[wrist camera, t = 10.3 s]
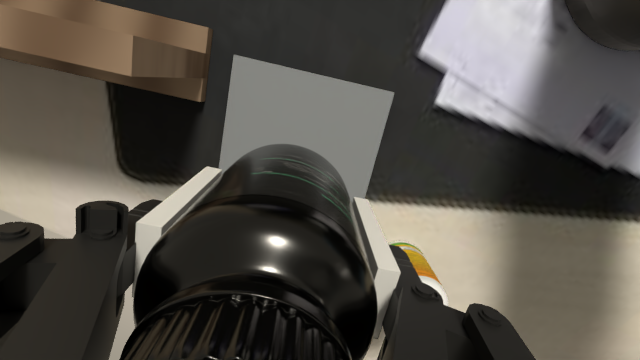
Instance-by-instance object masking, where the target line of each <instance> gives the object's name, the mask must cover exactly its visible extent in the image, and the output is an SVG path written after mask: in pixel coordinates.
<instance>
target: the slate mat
mask: <svg viewBox="0 0 640 360" xmlns="http://www.w3.org/2000/svg"><path fill="white" fill-rule="evenodd" d="M393 96H394V92H390V91H386V90H381V89H377V88H373V87H369V86H364V85H360V84H356V83H352V82H348V81H343V80H339V79H335V78H331V77H326V76H322V75H318V74H314V73H309V72H305V71H301V70H297V69H292V68H288V67H284V66H280V65H276V64H271V63H267V62H263V61H259V60H254V59H250V58H246V57H242V56H237V55H234V57H233V65H232V72H231V80H230V87H229V95H228V102H227V110H226V117H225V125H224V133H223V140H222V148H221V155H220V163H219V169H222V174H223V173H224V172H225V171H226V170H227V169H228V168H229V167H230V166H231V165H232V164H234V163H235V162H236V161H237V160H238V159H239V158H241V157H242V156H243V155H245V154H247V153H248V152H250V151H252V150H254V149H257V148H259V147H262V146H266V145H272V144H292V145H298V146H302V147H305V148H308V149H310V150H312V151H314V152H316V153H318V154H319V155H321V156H322V157H324V158H325V159H326V160H327V161H329V162H330V163H331V164H332V165H333V166H334V168H335V169H336V170H337V171H338V173H339V174H340V176H341V178H342V179H343V181H344V183H345V185H346V188H347V191H348V194H349V197H350V200H351V203H352V202H353V198H354V197H358V198H363V199H364V198H365V195H366V191H367V188H368V184H369V181H370V177H371V173H372V170H373V166H374V163H375V159H376V156H377V152H378V149H379V145H380V142H381V138H382V135H383V131H384V128H385V124H386V121H387V117H388V114H389V110H390V106H391V103H392V99H393ZM222 174H221V175H222Z"/></svg>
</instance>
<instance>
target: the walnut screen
mask: <svg viewBox="0 0 640 360" xmlns="http://www.w3.org/2000/svg"><path fill="white" fill-rule="evenodd" d="M212 34H213V30H212V29H210V28H208V27H203V26H199V25H195V24H191V23H187V22H183V21H179V20H174V19H170V18H166V17H162V16H158V15H154V14H150V13H145V12H141V11H137V10H133V9H129V8H125V7H121V6H116V5H112V4H108V3H104V2H100V1H96V0H0V58H4V59H9V60H13V61H18V62H22V63H27V64H31V65H36V66H40V67H45V68H49V69H54V70H58V71H63V72H67V73H72V74H76V75H81V76H85V77H90V78H94V79H99V80H103V81H108V82H112V83H117V84H121V85H126V86H130V87H135V88H139V89H144V90H148V91H153V92H157V93H162V94H166V95H171V96H175V97H180V98H184V99H189V100H193V101H198V102H204V101H205V97H206V88H207V79H208V70H209V61H210V52H211V43H212Z"/></svg>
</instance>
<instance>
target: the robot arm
mask: <svg viewBox="0 0 640 360" xmlns="http://www.w3.org/2000/svg"><path fill="white" fill-rule="evenodd" d="M566 4H567V7H568V9H569V12H570V14H571V16H572V18H573V19H574V21H575V22H576V24H577V25H578V26H579V28H580V29H581V30H582V31H583V32H584V33H585V34H586V35H587V36H588V37H590V38H591V39H592V40H594V41H595V42H597V43H599V44H601V45H603V46H606V47H609V48H612V49H616V50H624V51H637V50H640V0H566ZM221 174H222V169H217V168H212V167H206V168H204V169H203V170H202V171H201V172H199V173H198V174H197V175H196V176H194V177H193V178H192V179H190V180H189V181H188V182H187V183H185V184H184V185H183V186H182V187H180V188H179V189H178V190H177V191H175V192H174V193H173V194H172V195H170V196H169V197H168V198H167V199H165V200H164V201H159V200H154V199H153V200H149V201H146V202H143V203H141V204H139V205H138V206H136V207H135V208H134V209H132V210H131V211H129V212H128V207H127V206H126V205H125V204H122V203H119V202H114V201H94V202H88V203H85V204H82V205H80V206H79V207H77V208H76V234H75V236H74V238H73V239H44V228H43V227H41V226H40V225H38V224H34V223H26V222H15V223H13V222H9V223H5V224H2V225H0V360H108V359H109V356H110V352H111V349H112V345H113V342H114V338H115V334H116V331H117V327H118V324H119V320H120V316H121V312H122V309H123V306H124V295H125V294H124V293H125V291H126V290H127V289H128V287H129V286H130V285H131V284H132V283H133V288H132V297H133V298H134V291H135V286H136V281H137V277H138V274H139V272H140V269H141V266H142V264H143V262H144V260H145V258H146V256H147V255H148V253H149V251H150V250H151V248H152V247H153V246H154V244H155V243H156V242H157V241H158V240H159V238H160V237H161V236H162V235H163V233H164V232H165V231H166V230H167V229H168V228H169V227H170V226H171V225H172V224H173V223H174V222H175V221H176V220H177V219H178V218H179V217H180V216H181V215H182V214H183V213H184V212H185V211H186V210H187V209H188V208H189V207H190V206H191V205H192V204H193V203H194V202H195V201H196V200H197V199H198V198H199V197H200V196H201V195H202V194H203V193H204V192H205V191H206V190H207V189H208V188H209V187H210V186H211V185H212V184H213V183H214V182H215V181H216V180H217V179H218V178H219V177H220V176H221ZM352 207H353V210H354V213H355V217H356V220H357V223H358V227H359V230H360V233H361V237H362V240H363V243H364V247H365V250H366V253H367V257H368V260H369V264H370V267H371V270H372V274H373V278H374V283H375V287H376V293H377V302H378V313H377V322H376V327H375V332H374V335H373V338H375V339H378V337H379V334H380V332H381V329H382V326H383V328H384V332H385V335H386V336H385V339H384V341H383V344H382V347H381V350H380V353H379V356H378V358H377V360H536V359H535V358H534V356H533V355H532V353H531V352H530V351H529V349H528V348H527V346H526V345H525V343H524V342H523V340H522V339H521V338H520V336H519V335H518V333H517V332H516V330H515V329H514V327H513V326H512V324H511V323H510V322H509V321H508V320H507V319H506V317H504V316H503V315H502V314H500V313H499V312H498V311H497V310H495V309H493V308H491V307H489V306H485V305H482V304H476V303H474V304H470V305H469V307H468V309H467V311H466V313H464V312H461V311H458V310H456V309H453V308H451V307H448V306H446V305H444V304H443V299H442V296H441V295H440V294H439V293H438V291H437V290H435V289H434V288H432V287H431V286H429V285H427V284H425V283H423V282H422V281H421V279H420V277H419V276H418V274H417V272H416V270H415V268H413V264H412V263H411V262H410V259H409V257H408V255H407V253H406V252H405V251H403V250H402V249H401V248H400V247H399V246H394V245H389V244H388V243H387V241H386V238H385V236H384V234H383V232H382V230H381V227H380V225H379V223H378V221H377V218H376V216H375V214H374V212H373V210H372V207H371V205H370V203H369V201H368V200H367V199H363V198H358V197H354V198H353V202H352Z"/></svg>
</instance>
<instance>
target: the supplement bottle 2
mask: <svg viewBox="0 0 640 360" xmlns="http://www.w3.org/2000/svg"><path fill="white" fill-rule="evenodd" d="M388 244H389V245H394V246H399V247H400V248H401V249H402V250H403V251H405V252H406V253H407V255H408V257H409V259H410V262H411V263H412V264H413V268H415V270H416V272H417V274H418V276H419V277H420V279H421V281H422V282H423V283H425V284H427V285H429V286H431V287H432V288H434V289H435V290H437V291H438V293H439V294H440V295H441V296H442V299H443V304H444V305H446V306H448V298H447V295H446V292H445V290H444V288H443V287H442V285H441V283H440V282H439V280H438V279H437V277H436V275H435V274H434V272H433V270H432V269H431V267H430V266H429V264H428V262H427V261H426V259H425V257H424V256H423V254H422V252H421V251H420V250H419V248H418V247H416V246H415V245H414V244H412V243H410V242H407V241H393V242H390V243H388Z"/></svg>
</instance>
